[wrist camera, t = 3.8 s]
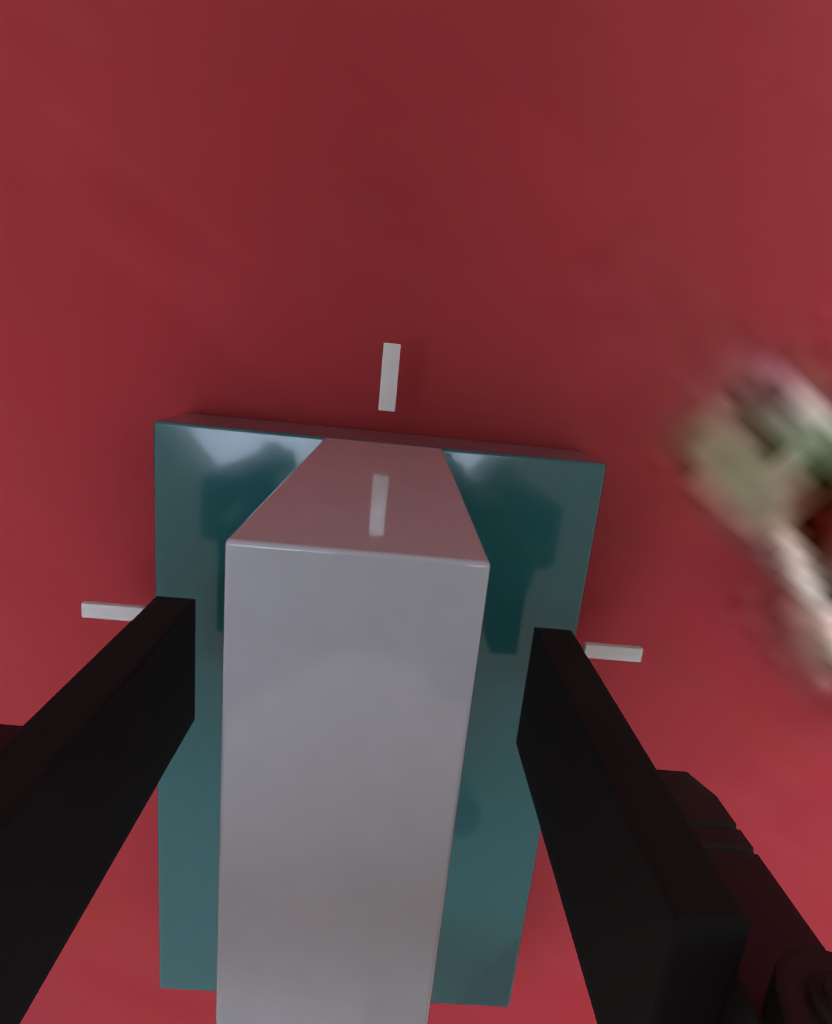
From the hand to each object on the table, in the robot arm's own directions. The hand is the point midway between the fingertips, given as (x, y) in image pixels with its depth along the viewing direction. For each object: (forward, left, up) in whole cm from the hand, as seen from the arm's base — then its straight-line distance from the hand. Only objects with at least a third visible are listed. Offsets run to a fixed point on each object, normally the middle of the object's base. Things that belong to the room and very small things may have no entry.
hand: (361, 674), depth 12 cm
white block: (0, 0, -2) cm, 2 cm away
